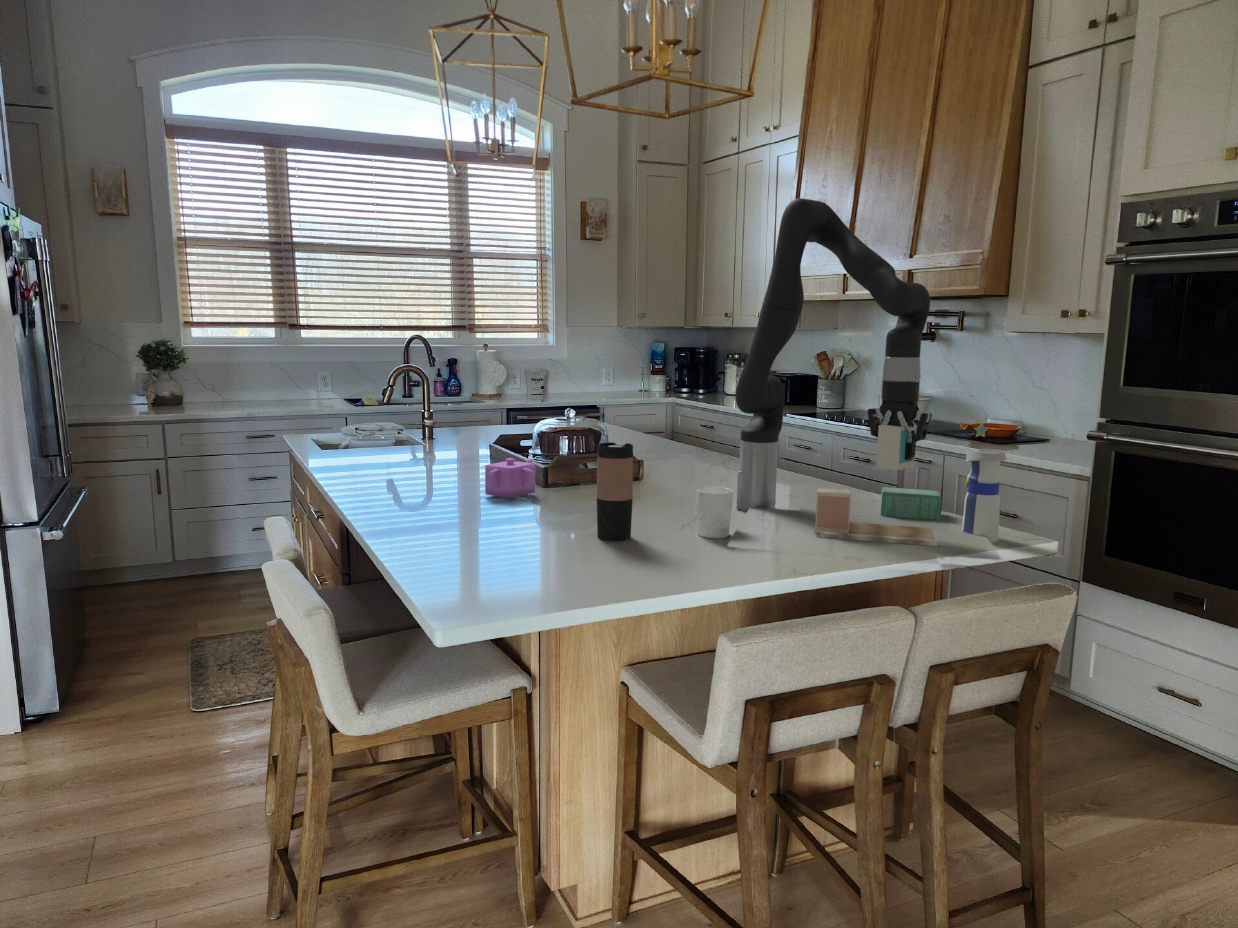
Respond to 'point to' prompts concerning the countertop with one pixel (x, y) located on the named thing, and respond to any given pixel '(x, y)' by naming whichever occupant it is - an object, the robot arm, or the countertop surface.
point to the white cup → (714, 511)
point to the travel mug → (614, 491)
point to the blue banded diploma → (983, 492)
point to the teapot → (510, 478)
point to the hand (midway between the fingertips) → (896, 458)
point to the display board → (885, 534)
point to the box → (910, 503)
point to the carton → (892, 448)
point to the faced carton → (833, 510)
